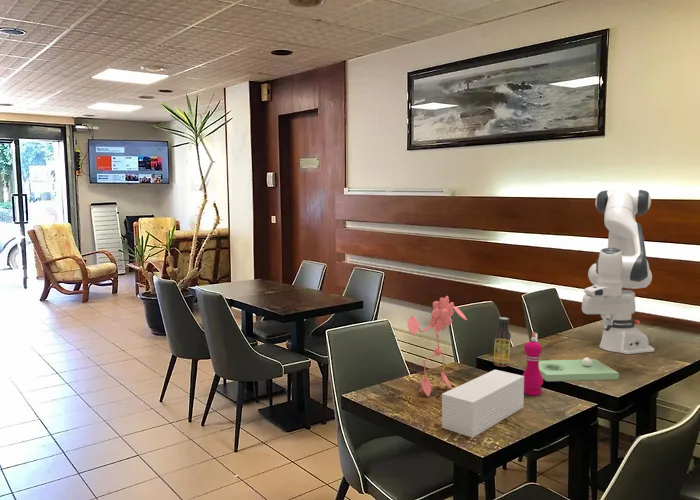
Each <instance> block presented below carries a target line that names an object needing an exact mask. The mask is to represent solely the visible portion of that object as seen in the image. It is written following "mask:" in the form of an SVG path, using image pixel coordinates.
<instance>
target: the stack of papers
mask: <svg viewBox="0 0 700 500" xmlns="http://www.w3.org/2000/svg"><path fill="white" fill-rule="evenodd" d="M524 386H525V385H524V376H523V375H522V374H521V375H520V374H517V373H511V372H507V371H504V370H498V369H493V370H490V371H489V372H487V373H484V374H482V375H480V376H478V377H475V378H474V379H471V380H469V381H467V382H465V383H462V384H461V385H459V386H456V387H455V388H451V389H449V390H448V391H445V392H443V393H441V406H442V407H441V428H442V429H445V430H447V431H451V432H454V433H457V434H460V435H462V436H467V437H469V438H472V439H474V438H475V437H477V436H478V435H479V434H482V433H483V432H484V431H486V430H487V429H490V428H492V427H494V425H497V424H498V423H499V422H501V421H502V420H504V419H506V418H508V417H510V416H511V415H513V414H514V413H516V412H518V411H519V410H521V409H522V408H524V406H525V405H524V403H525V402H524V401H525V400H524V398H525V397H524V396H525V393H524V391H523V390H524V388H523V387H524Z"/></svg>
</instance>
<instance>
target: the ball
mask: <svg viewBox="0 0 700 500" xmlns="http://www.w3.org/2000/svg"><path fill="white" fill-rule="evenodd" d="M591 359H592V358H590V357H587V356H586V357H584V358H583V360H582V359H581V360H582V363H583V365H584V366H590V365H591V364H592V361H591Z"/></svg>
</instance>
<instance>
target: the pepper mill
mask: <svg viewBox="0 0 700 500" xmlns="http://www.w3.org/2000/svg"><path fill="white" fill-rule="evenodd" d="M535 341H536V338H534V337H532V336H531V338H530V341H528V342H526V343H525V344H524V346H523V350H524V352H525V360H526V366H525V369H524V372H523V374H522V376H524V387H523V388H524V390H523V391H524V393H523V394H524V395H529V396H540V395H541V394H542V385H543V384H544V379H543V378H542V375H541V373H540V370H539V361H541V354H542V352H543V347H542V345H541V343H540V342H538V341H537V342H535Z"/></svg>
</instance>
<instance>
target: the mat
mask: <svg viewBox="0 0 700 500" xmlns="http://www.w3.org/2000/svg"><path fill="white" fill-rule="evenodd" d="M532 337H534V338H536V341H535V342H538V332H537V333H536V332H534V331H531V338H532ZM583 359H584V358H583ZM583 359H553V360H552V359H550V360H539V370H540V373H541V375H542V378H543V381H545V382H570V381H571V382H573V381H579V382H580V381H605V380H607V381H608V380H611V381H612V380H619V377H620V373H619V372H618V371H616V370H615V369H613V368H612V367H609V366H608V365H606V364H605V363H603V362H601V361H599V360H597V359H596V358H590V359H591V361H592V364H591V365H590V366H584V365H583V363H582V360H583Z"/></svg>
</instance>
